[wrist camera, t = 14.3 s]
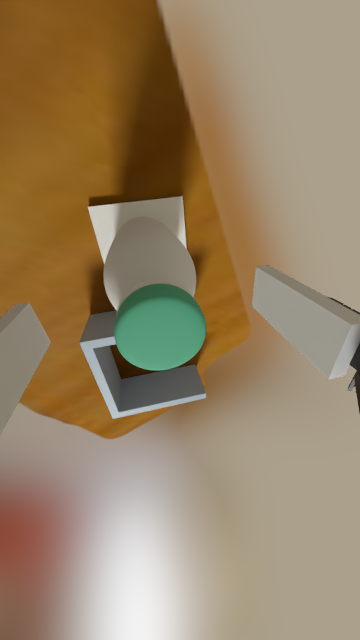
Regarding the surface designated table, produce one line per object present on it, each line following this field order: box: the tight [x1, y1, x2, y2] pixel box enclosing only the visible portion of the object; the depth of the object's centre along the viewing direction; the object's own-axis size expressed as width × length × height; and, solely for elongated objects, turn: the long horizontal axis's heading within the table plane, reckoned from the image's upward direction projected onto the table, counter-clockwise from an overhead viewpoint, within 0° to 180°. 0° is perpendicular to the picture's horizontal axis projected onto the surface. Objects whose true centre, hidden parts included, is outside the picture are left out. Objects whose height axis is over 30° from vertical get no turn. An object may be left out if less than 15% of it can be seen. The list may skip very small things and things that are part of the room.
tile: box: [88, 196, 187, 264], centre depth 27 cm, size 11×11×1 cm
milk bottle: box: [103, 217, 206, 370], centre depth 18 cm, size 8×8×20 cm
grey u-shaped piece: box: [80, 310, 206, 419], centre depth 33 cm, size 15×15×7 cm
